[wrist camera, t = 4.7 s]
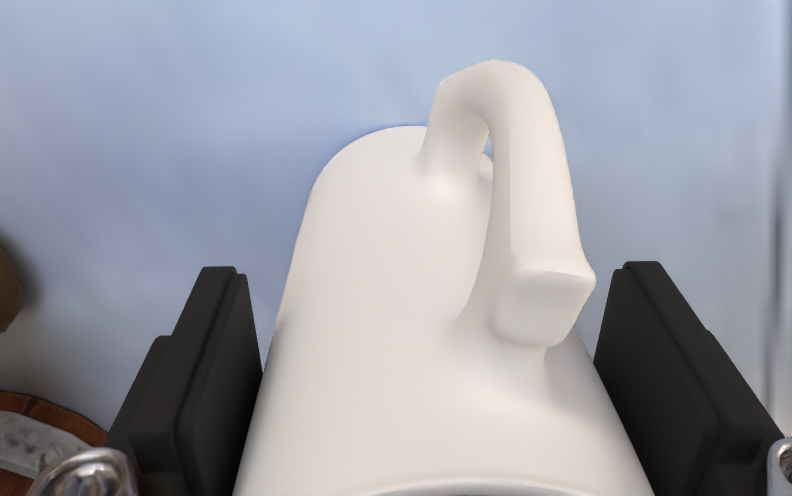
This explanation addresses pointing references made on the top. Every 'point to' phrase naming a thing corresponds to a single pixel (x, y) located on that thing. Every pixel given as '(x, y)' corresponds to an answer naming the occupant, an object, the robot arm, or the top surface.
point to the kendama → (9, 290)
